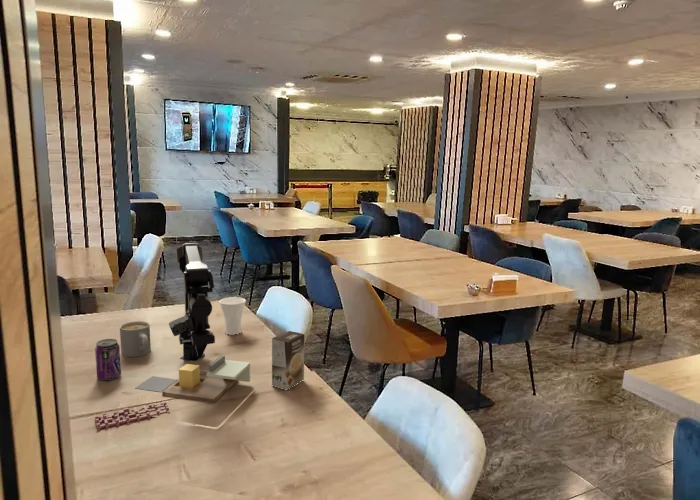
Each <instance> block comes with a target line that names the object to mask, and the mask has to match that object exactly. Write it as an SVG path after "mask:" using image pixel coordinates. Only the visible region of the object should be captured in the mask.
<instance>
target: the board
mask: <svg viewBox="0 0 700 500" xmlns="http://www.w3.org/2000/svg"><path fill="white" fill-rule="evenodd" d="M207 372H209V369H208V370H207V369H200V384H199V385H198V386H196V387H195V388H194V389H192V388H185V387H180V385H179V379H177V381H175V382H174V383H173V384H171V385H170V386H169V387H167V388H166V389H165V390H163V391H162V392H161V395H162V396H166V397H172V398H173V397H174V398H178V399H184V400H186V399H187V400H193V401H201V402H207V403H215V402H216V401H218V399H220V398H221V397H222V395H224V394H225V393H226V392H227V391H228V390H229V389H231V387H232V386H234V385H235V384H236V383H237V382H239V381H238V380H231V379H223V378H218V377H211V376H206V373H207Z"/></svg>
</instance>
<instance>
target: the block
mask: <svg viewBox="0 0 700 500" xmlns="http://www.w3.org/2000/svg"><path fill="white" fill-rule="evenodd" d="M200 370H201V369H200V365H199V364H191V363H186V364H184V365H183V366H181V367H180V368H179V369H178V380H179V385H180V387H185V388H192V389H194V388H195V387H196V386H198V385H199V384H200Z"/></svg>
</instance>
